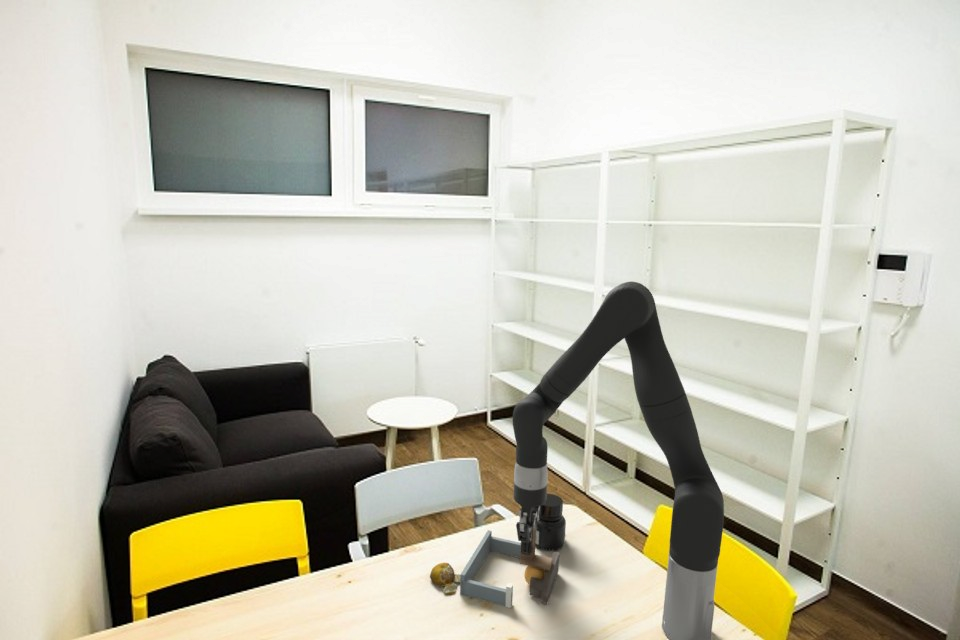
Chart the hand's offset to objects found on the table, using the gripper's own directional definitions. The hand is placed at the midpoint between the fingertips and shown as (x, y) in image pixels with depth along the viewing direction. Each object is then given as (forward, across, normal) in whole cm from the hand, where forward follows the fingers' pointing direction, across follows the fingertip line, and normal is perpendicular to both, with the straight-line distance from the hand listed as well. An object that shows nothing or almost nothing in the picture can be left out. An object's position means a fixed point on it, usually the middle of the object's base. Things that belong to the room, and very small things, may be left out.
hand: (527, 549), depth 126 cm
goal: (+9, 0, +7) cm, 11 cm away
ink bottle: (+9, +18, -1) cm, 20 cm away
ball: (+6, 0, -2) cm, 6 cm away
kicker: (+8, 0, -2) cm, 9 cm away
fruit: (+9, -7, +17) cm, 21 cm away
